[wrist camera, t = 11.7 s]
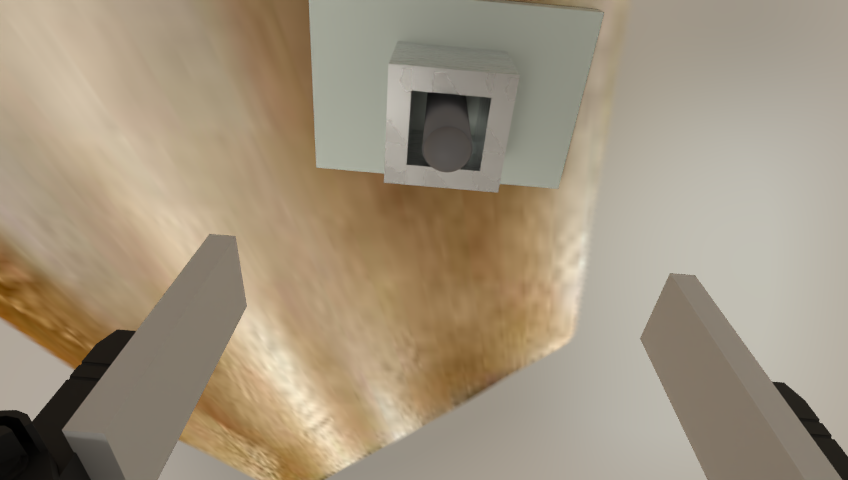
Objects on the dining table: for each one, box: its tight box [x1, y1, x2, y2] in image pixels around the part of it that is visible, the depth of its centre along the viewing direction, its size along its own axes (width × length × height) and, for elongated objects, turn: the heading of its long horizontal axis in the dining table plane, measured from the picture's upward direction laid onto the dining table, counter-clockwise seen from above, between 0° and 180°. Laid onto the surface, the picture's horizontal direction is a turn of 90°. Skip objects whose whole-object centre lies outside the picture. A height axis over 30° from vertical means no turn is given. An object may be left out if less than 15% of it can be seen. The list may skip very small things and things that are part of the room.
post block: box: [309, 0, 604, 189], centre depth 29 cm, size 12×18×12 cm, turn 85°
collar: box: [384, 41, 520, 192], centre depth 30 cm, size 7×7×6 cm
